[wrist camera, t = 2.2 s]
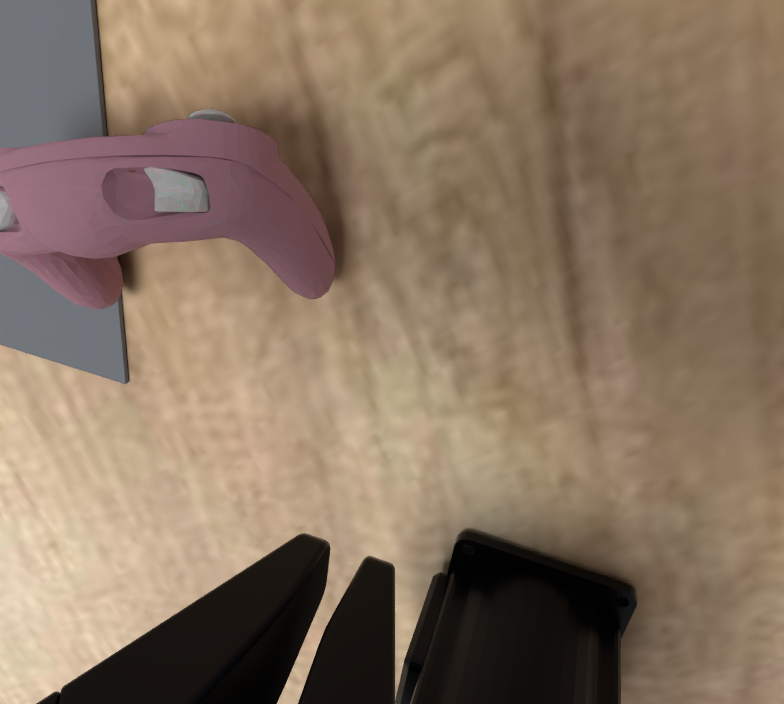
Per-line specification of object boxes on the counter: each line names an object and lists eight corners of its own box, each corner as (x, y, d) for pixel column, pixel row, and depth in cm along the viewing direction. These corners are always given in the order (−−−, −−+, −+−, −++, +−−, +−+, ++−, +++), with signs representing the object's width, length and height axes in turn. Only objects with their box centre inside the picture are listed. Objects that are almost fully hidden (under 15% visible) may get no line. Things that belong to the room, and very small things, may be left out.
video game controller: (348, 159, 20) (223, 57, 14) (349, 301, 20) (222, 268, 13) (102, 190, 23) (-97, 119, 17) (102, 312, 23) (-100, 290, 17)
